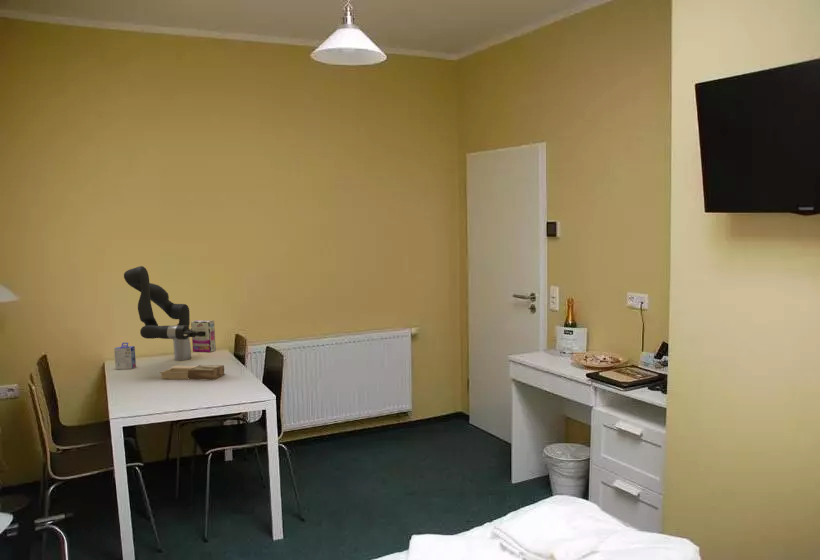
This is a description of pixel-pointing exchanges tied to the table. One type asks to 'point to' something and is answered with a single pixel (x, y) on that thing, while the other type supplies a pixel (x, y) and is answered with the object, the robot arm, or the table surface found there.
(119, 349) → the ink cartridge box
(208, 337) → the candy bar box
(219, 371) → the stand
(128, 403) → the table surface
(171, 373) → the light wooden frame
